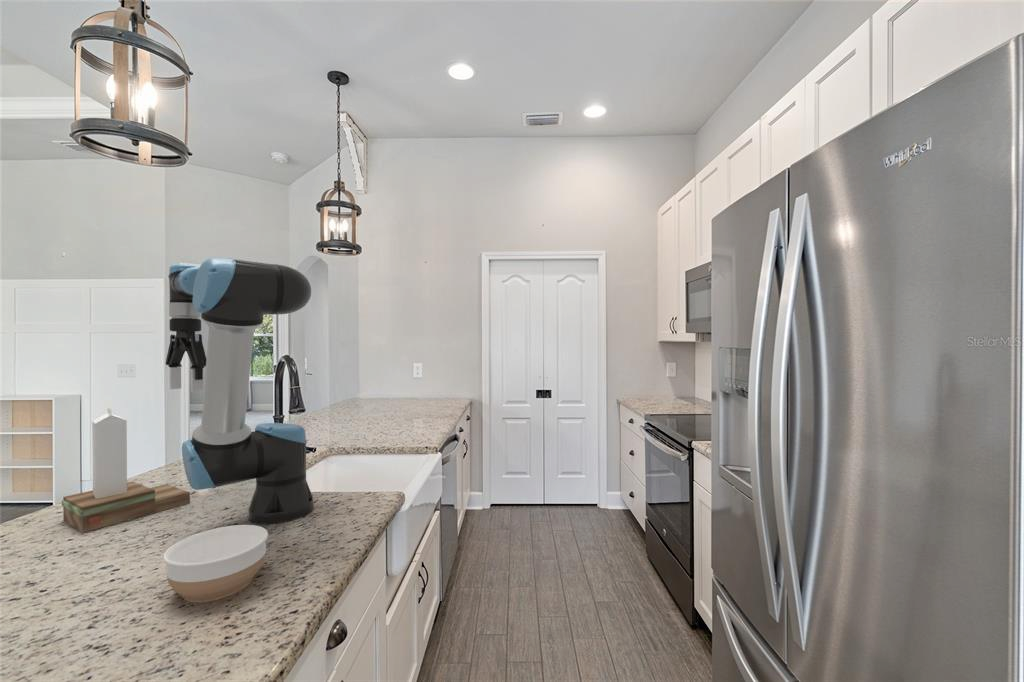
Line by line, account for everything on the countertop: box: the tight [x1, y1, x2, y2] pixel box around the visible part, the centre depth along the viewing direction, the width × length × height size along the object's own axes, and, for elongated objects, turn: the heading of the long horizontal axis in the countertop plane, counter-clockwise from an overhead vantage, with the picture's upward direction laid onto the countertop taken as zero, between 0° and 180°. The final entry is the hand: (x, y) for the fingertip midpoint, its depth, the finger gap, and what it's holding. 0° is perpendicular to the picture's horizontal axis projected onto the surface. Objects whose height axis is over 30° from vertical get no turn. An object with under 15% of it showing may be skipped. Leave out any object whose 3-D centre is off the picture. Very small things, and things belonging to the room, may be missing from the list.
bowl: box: [163, 524, 269, 603], centre depth 81 cm, size 16×16×8 cm
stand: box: [61, 481, 191, 534], centre depth 116 cm, size 14×22×6 cm, turn 149°
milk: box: [91, 406, 128, 499], centre depth 113 cm, size 6×6×22 cm
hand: (186, 390), depth 129 cm, fingers open, 13 cm apart
